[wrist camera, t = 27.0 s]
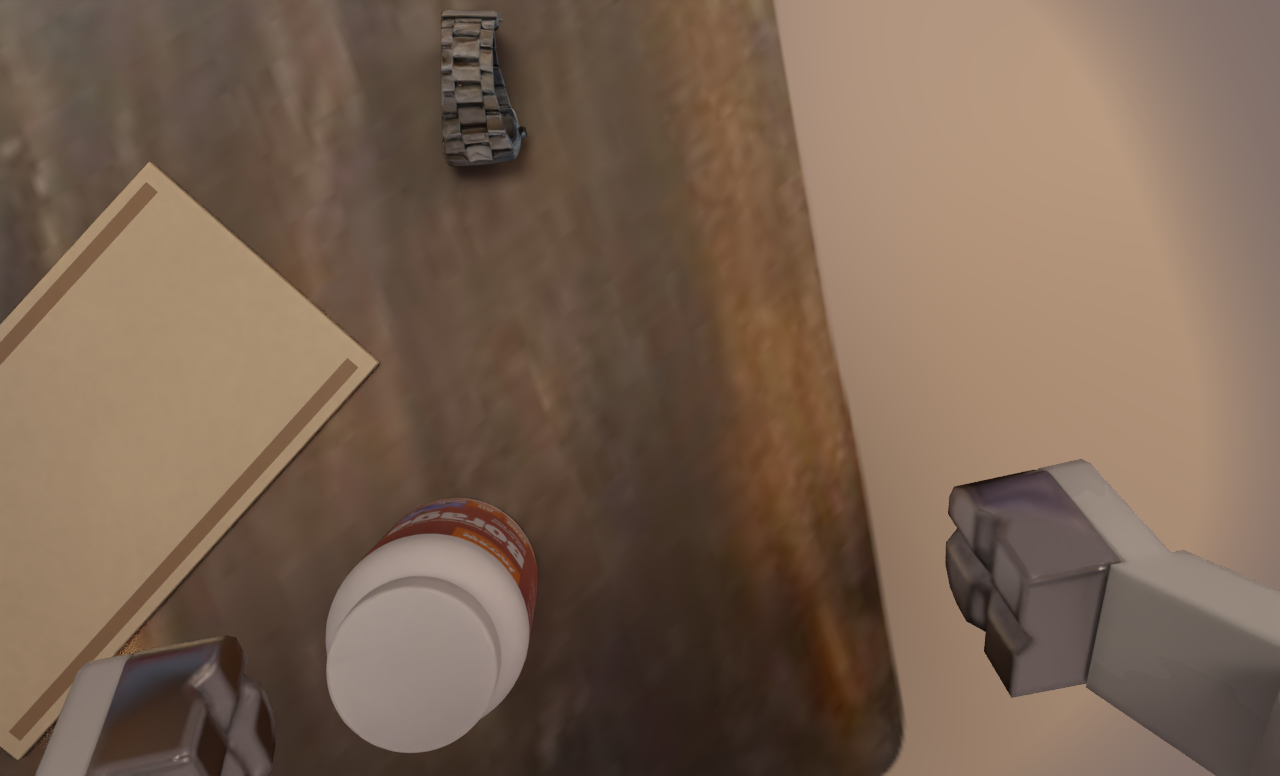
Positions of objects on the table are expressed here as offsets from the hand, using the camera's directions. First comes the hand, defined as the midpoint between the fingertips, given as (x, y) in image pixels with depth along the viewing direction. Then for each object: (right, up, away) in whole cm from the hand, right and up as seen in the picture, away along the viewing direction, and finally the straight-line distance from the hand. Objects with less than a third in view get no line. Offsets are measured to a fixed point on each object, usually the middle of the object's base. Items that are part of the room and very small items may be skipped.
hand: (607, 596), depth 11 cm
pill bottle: (-7, -5, +27) cm, 28 cm away
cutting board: (-20, 0, +26) cm, 33 cm away
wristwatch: (-5, +13, +26) cm, 30 cm away
